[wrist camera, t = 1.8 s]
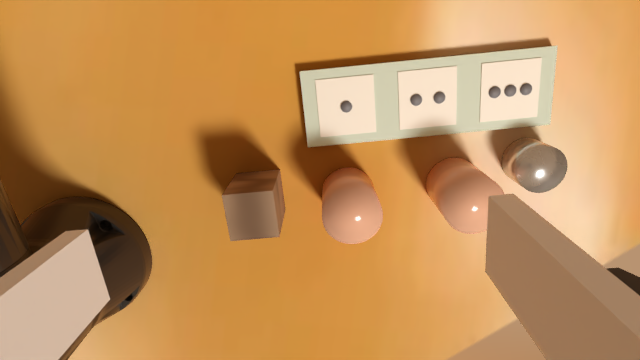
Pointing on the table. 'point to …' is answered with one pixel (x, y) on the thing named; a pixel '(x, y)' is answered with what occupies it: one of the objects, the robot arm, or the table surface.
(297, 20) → the table surface
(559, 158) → the tin
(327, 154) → the table surface
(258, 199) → the walnut block
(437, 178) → the pink capsule pill
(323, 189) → the peach capsule
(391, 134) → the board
